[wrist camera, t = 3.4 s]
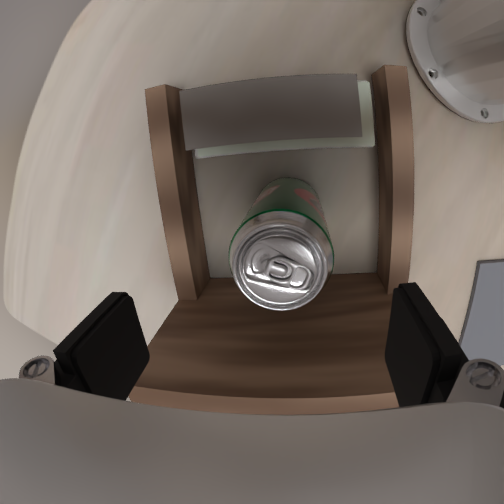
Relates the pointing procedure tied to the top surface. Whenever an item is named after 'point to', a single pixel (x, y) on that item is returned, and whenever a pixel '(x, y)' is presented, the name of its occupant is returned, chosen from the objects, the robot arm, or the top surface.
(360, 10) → the top surface
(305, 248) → the soda can
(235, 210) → the top surface
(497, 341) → the mat
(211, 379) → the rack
